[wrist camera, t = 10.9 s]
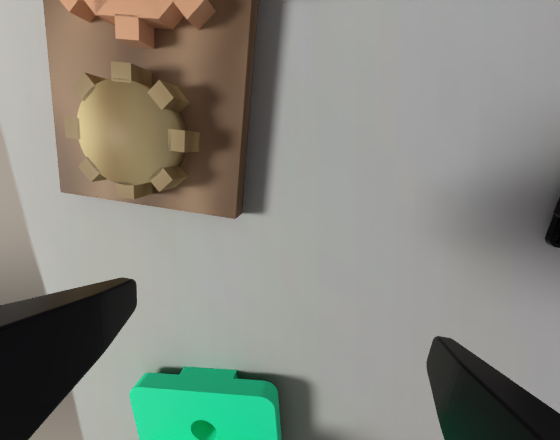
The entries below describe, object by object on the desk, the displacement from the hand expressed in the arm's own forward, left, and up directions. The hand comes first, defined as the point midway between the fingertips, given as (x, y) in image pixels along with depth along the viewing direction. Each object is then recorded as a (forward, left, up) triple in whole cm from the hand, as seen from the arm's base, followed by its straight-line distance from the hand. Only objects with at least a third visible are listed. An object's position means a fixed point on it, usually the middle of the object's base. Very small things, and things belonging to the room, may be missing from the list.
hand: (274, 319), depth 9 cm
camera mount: (+5, +18, -12) cm, 22 cm away
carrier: (+11, -10, -12) cm, 19 cm away
